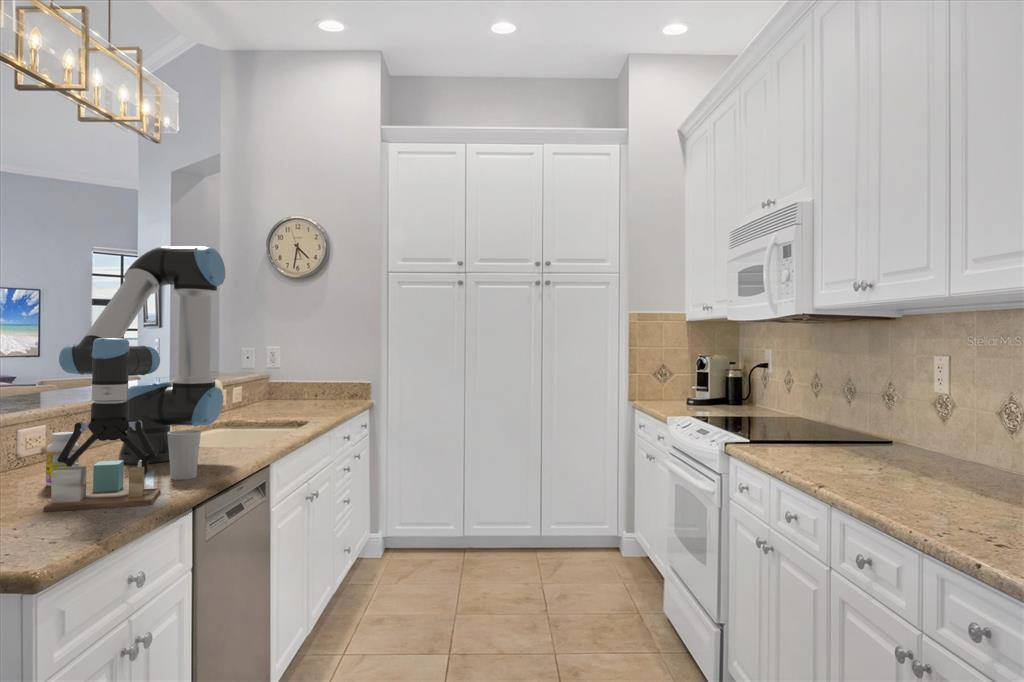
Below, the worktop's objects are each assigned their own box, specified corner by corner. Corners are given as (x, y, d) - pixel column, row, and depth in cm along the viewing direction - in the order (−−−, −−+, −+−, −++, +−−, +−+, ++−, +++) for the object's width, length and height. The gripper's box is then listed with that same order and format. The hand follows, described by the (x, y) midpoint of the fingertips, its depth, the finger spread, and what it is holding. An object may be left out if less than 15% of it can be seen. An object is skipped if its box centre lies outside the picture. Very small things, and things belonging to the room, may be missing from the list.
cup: (186, 481, 163) (186, 434, 163) (159, 479, 165) (160, 433, 165) (206, 474, 171) (207, 430, 171) (181, 473, 173) (182, 429, 173)
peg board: (61, 498, 144) (61, 464, 144) (160, 492, 151) (160, 459, 151) (43, 511, 133) (44, 475, 133) (151, 504, 140) (152, 469, 140)
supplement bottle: (50, 482, 159) (50, 431, 159) (81, 480, 162) (82, 430, 162) (42, 488, 153) (43, 435, 153) (74, 486, 156) (75, 434, 156)
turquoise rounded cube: (98, 488, 154) (99, 461, 154) (123, 486, 156) (123, 460, 156) (92, 493, 149) (93, 465, 149) (118, 491, 151) (118, 464, 151)
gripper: (42, 404, 144) (40, 496, 144) (165, 402, 153) (163, 489, 153) (53, 401, 151) (51, 489, 151) (170, 399, 160) (168, 482, 160)
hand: (107, 489), depth 152 cm, fingers open, 13 cm apart
